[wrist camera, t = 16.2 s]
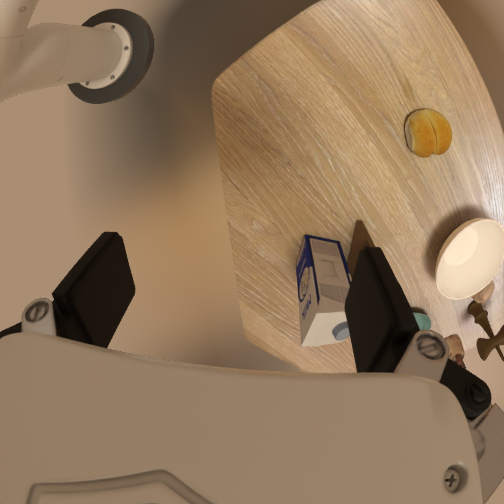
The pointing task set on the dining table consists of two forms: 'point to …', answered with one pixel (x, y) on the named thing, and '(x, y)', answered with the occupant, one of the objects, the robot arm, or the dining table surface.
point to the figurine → (455, 350)
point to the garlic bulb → (484, 293)
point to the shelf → (358, 245)
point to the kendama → (486, 344)
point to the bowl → (470, 258)
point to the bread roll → (428, 133)
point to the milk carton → (322, 291)
